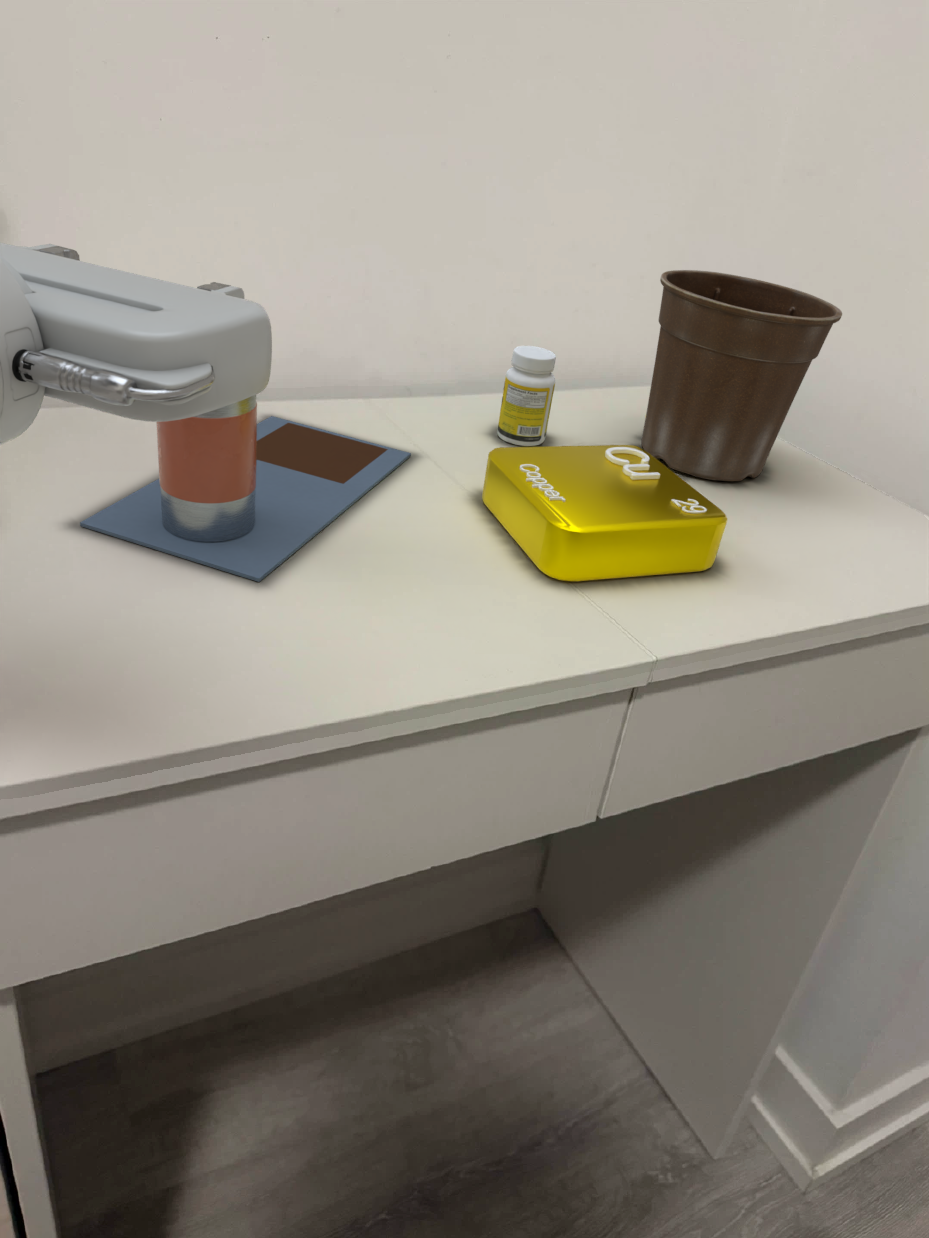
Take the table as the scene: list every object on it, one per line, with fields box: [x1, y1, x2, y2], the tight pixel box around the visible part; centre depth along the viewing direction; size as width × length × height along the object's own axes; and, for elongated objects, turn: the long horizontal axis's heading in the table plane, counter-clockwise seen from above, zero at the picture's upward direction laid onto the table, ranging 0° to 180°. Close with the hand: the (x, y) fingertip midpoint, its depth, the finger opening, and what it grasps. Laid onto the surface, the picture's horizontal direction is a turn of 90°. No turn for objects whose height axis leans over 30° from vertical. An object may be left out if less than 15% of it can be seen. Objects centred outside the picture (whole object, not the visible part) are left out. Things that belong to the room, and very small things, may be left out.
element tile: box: [481, 444, 728, 582], centre depth 72 cm, size 15×15×5 cm
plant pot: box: [640, 269, 843, 482], centre depth 86 cm, size 16×16×16 cm
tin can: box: [156, 394, 258, 542], centre depth 62 cm, size 6×6×12 cm
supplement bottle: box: [496, 345, 557, 447], centre depth 86 cm, size 5×5×8 cm
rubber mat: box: [79, 415, 412, 583], centre depth 72 cm, size 14×26×1 cm, turn 160°
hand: (148, 282), depth 45 cm, fingers open, 8 cm apart
